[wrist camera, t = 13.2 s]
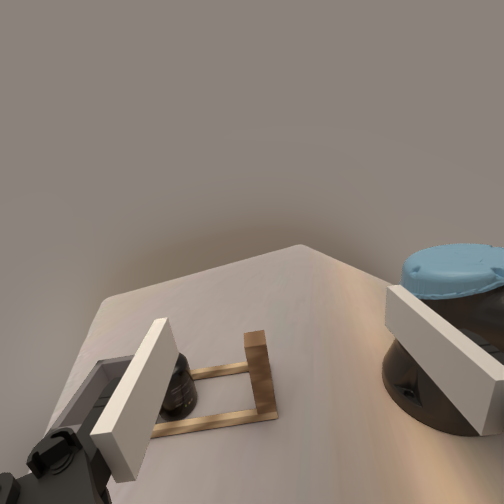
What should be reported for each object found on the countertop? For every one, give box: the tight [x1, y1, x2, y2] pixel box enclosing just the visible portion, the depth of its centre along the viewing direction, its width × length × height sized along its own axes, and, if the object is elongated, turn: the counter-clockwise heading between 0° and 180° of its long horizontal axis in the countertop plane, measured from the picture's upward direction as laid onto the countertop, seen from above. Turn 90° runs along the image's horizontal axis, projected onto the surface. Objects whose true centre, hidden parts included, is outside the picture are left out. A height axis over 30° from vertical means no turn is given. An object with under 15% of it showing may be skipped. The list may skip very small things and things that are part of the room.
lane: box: [44, 355, 135, 438], centre depth 42 cm, size 12×14×6 cm
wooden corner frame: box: [151, 330, 278, 438], centre depth 41 cm, size 22×11×14 cm, turn 93°
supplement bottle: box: [159, 353, 197, 421], centre depth 41 cm, size 7×7×12 cm
